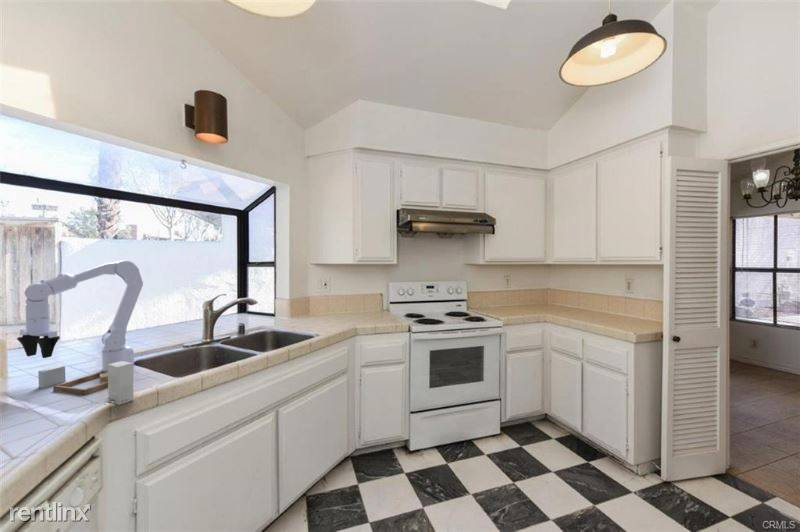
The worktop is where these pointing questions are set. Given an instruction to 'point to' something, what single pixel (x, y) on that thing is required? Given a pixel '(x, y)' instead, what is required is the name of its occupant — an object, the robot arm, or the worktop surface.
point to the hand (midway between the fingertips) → (39, 356)
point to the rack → (66, 386)
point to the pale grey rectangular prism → (51, 376)
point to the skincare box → (120, 382)
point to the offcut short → (104, 377)
